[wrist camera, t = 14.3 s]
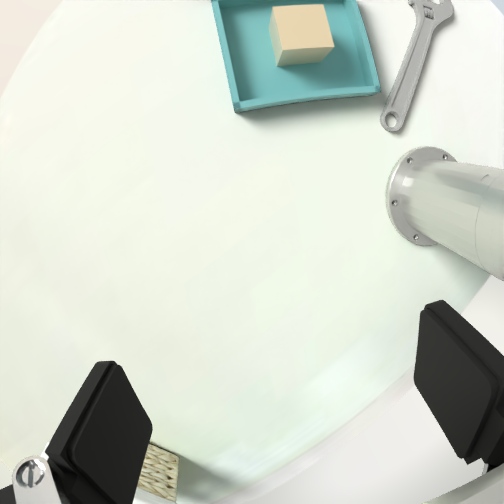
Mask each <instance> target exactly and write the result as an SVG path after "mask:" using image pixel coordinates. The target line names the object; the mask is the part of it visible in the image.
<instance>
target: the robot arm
mask: <svg viewBox="0 0 504 504" xmlns="http://www.w3.org/2000/svg"><path fill="white" fill-rule="evenodd" d="M407 159H408V162H407ZM392 201H394V202H393V204H392ZM386 205H387V210H388V214H389V217H390V219H391V222H392V224H393V225H394V227H395V228H396V230H397V231H398V232H399V233H400V234H401V235H402V236H403V237H404V238H406V239H407V240H409V241H411V242H412V243H415V244H418V245H434V244H438V243H440V244H441V245H443V246H445V247H447V248H448V249H450V250H452V251H453V252H455V253H457V254H459V255H460V256H462V257H464V258H465V259H467V260H469V261H470V262H472V263H474V264H475V265H477V266H479V267H480V268H482V269H483V270H485V271H487V272H489V273H490V274H492V275H494V276H495V277H497V278H499V279H501V280H502V281H504V169H500V168H494V167H488V166H481V165H475V164H468V163H460V162H457V161H456V160H455V158H453V157H452V156H451V155H450V154H449V153H448V152H446V151H444V150H442V149H439V148H436V147H418V148H415V149H412V150H411V151H409V152H407V153H406V154H405V155H403V156H402V157H401V158H400V159H399V160H398V162H397V163H396V165H395V166H394V168H393V170H392V172H391V174H390V176H389V180H388V184H387V190H386ZM414 382H415V385H416V387H417V389H418V390H419V392H420V394H421V395H422V397H423V398H424V400H425V402H426V403H427V405H428V407H429V408H430V410H431V412H432V413H433V415H434V416H435V418H436V420H437V421H438V423H439V425H440V427H441V428H442V430H443V432H444V433H445V435H446V437H447V438H448V440H449V442H450V444H451V446H452V447H453V449H454V451H455V453H456V454H457V456H458V457H459V458H461V459H462V458H464V460H465V461H466V463H467V464H470V463H472V462H474V461H476V460H478V459H480V458H482V460H483V461H484V463H485V465H484V469H483V472H482V476H480V477H478V478H477V479H475V480H473V481H471V482H469V483H467V484H465V485H463V486H461V487H459V488H456V489H454V490H452V491H450V492H448V493H446V494H444V495H441V496H439V497H437V498H435V499H432V500H430V501H427V502H425V503H422V504H504V356H503V355H502V354H501V353H500V352H499V351H498V350H497V349H496V348H495V347H494V346H493V345H492V344H491V343H490V342H489V341H488V340H487V339H486V338H485V337H483V335H481V334H480V333H479V332H478V331H477V330H476V329H475V328H474V327H473V326H472V325H471V324H470V323H469V322H468V321H466V320H465V319H464V318H463V317H462V316H461V315H460V314H459V313H458V312H456V311H455V310H454V309H453V308H452V307H451V306H450V305H449V304H447V303H446V302H445V301H444V300H439V301H436V302H433V303H429V304H427V305H426V306H425V308H424V310H422V311H421V313H420V323H419V335H418V345H417V355H416V363H415V371H414ZM151 434H152V423H151V421H150V419H149V417H148V415H147V414H146V412H145V410H144V408H143V407H142V405H141V403H140V401H139V399H138V397H137V396H136V394H135V392H134V390H133V388H132V386H131V384H130V382H129V380H128V378H127V376H126V374H125V372H124V370H123V368H122V367H121V366H120V365H117V363H116V362H115V361H101V362H97V363H96V364H95V365H94V367H93V369H92V370H91V372H90V373H89V375H88V377H87V378H86V380H85V382H84V383H83V385H82V387H81V388H80V390H79V392H78V393H77V395H76V397H75V398H74V400H73V402H72V404H71V405H70V407H69V409H68V410H67V412H66V414H65V416H64V417H63V419H62V421H61V423H60V425H59V426H58V428H57V430H56V432H55V434H54V435H53V437H52V439H51V441H50V443H49V445H48V446H47V448H46V450H45V453H46V454H47V455H48V457H49V458H48V460H47V461H46V460H45V459H44V458H43V457H40V456H30V457H27V458H25V459H23V460H22V461H20V462H19V463H18V464H17V466H16V467H15V469H14V471H13V474H12V482H13V484H12V485H9V486H7V487H5V488H3V489H1V490H0V504H133V500H134V496H135V492H136V489H137V485H138V481H139V477H140V474H141V470H142V466H143V462H144V459H145V455H146V452H147V448H148V445H149V441H150V438H151Z"/></svg>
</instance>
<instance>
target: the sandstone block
mask: <svg viewBox="0 0 504 504" xmlns="http://www.w3.org/2000/svg"><path fill="white" fill-rule="evenodd" d="M269 32H270V37H271V41H272V46H273V51H274V55H275V60H276V65H277V66H285V65H295V64H306V63H321V61H322V60H323V59H324V58H325V57H326V56H327V55H328V53H329V52H330V51H331V50H332V49H333V48H334V43H333V39H332V35H331V31H330V27H329V23H328V20H327V16H326V12H325V9H324V5H323V4H312V5H290V6H277V7H273V8H272V13H271V18H270V24H269Z"/></svg>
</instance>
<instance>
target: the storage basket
mask: <svg viewBox="0 0 504 504" xmlns="http://www.w3.org/2000/svg"><path fill="white" fill-rule="evenodd" d="M49 443H50V441H49V442H48V443H47V445H46V447H45V449H44V451H43V452H42V454H41V457H43V458H44V459H45V460H46V461H47V460H48V458H49V457H48V455H47V454H46V453H45V450H46V448H47V446H48V445H49ZM178 465H179V457H178V456H176V455H174V454H172V453H170V452H167V451H165V450H163V449H160V448H158V447H156V446H153V445H151V444H149V445H148V448H147V452H146V455H145V459H144V462H143V466H142V470H141V474H140V477H139V481H138V485H137V489H136V492H135V496H134V500H133V504H177V503H176V497H177V492H176V489H177V482H178V481H177V478H178V469H179V467H178Z"/></svg>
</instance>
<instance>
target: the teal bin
mask: <svg viewBox="0 0 504 504" xmlns="http://www.w3.org/2000/svg"><path fill="white" fill-rule="evenodd" d="M211 3H212V7H213V12H214V17H215V21H216V26H217V31H218V35H219V40H220V45H221V49H222V54H223V59H224V64H225V68H226V73H227V78H228V83H229V88H230V92H231V97H232V102H233V107H234V111H235V113H238V112H243V111H249V110H254V109H260V108H266V107H272V106H278V105H285V104H292V103H299V102H307V101H315V100H324V99H334V98H345V97H359V96H372V95H374V94H377V93H379V92H381V88H380V84H379V79H378V75H377V71H376V67H375V63H374V59H373V55H372V51H371V47H370V44H369V40H368V37H367V33H366V30H365V27H364V23H363V20H362V17H361V14H360V11H359V8H358V5H357V2H356V0H211ZM312 4H323V5H324V9H325V12H326V16H327V20H328V23H329V27H330V31H331V35H332V39H333V43H334V48H333V49H332V50H331V51H330V52H329V53H328V55H327V56H326V57H325V58H324V59H323V60H322V61H321V63H306V64H295V65H285V66H277V65H276V60H275V55H274V51H273V46H272V41H271V37H270V32H269V24H270V18H271V13H272V8H273V7H277V6H290V5H312Z"/></svg>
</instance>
